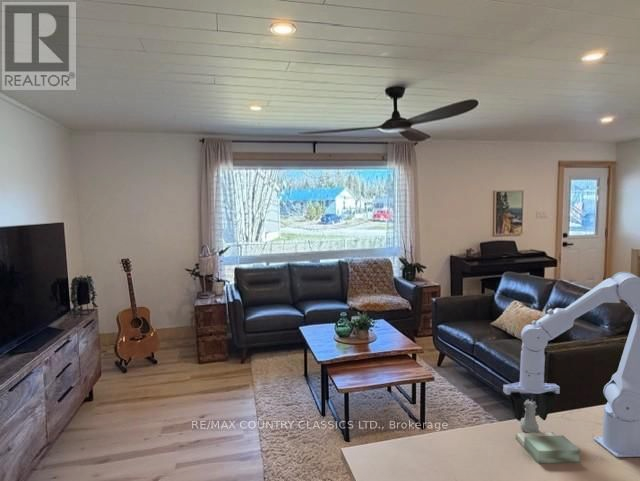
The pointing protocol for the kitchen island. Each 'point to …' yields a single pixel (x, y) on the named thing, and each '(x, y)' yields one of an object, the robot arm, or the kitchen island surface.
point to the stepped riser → (548, 447)
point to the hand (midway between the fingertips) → (530, 418)
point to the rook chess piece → (530, 418)
